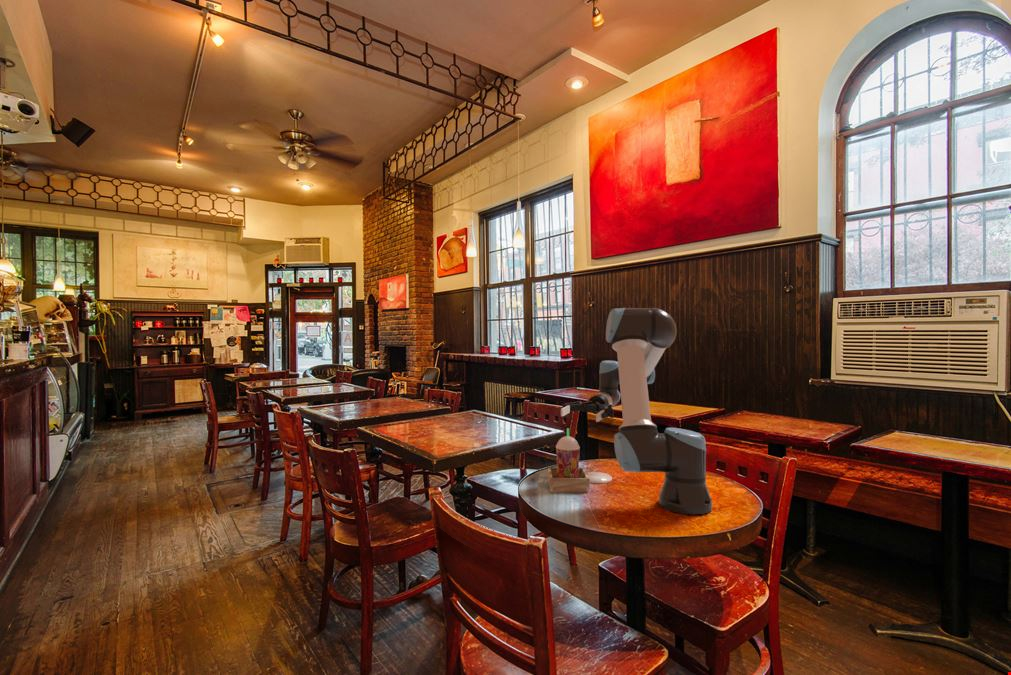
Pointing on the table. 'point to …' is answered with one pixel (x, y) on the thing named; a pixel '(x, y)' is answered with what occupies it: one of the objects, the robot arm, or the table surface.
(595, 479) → the pale round disc
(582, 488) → the crate
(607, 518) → the table surface
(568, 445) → the smoothie
